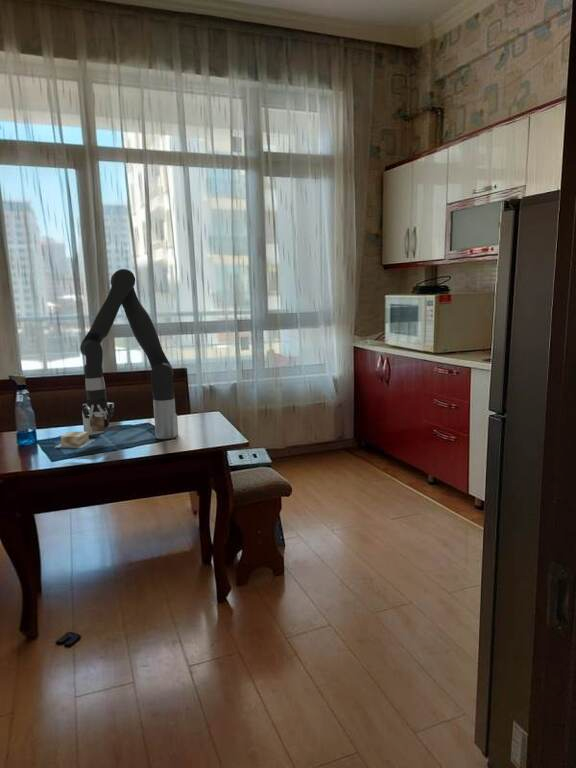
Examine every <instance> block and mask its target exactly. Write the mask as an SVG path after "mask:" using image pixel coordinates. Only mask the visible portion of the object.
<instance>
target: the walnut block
mask: <svg viewBox="0 0 576 768" xmlns="http://www.w3.org/2000/svg"><path fill="white" fill-rule="evenodd" d="M91 425H92V432H98V431H103V432H105V431H107V430H109V429H110V425H109V426H108V427H107V428H105V424H104V417H103V415H95V416H93V417H91Z"/></svg>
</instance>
